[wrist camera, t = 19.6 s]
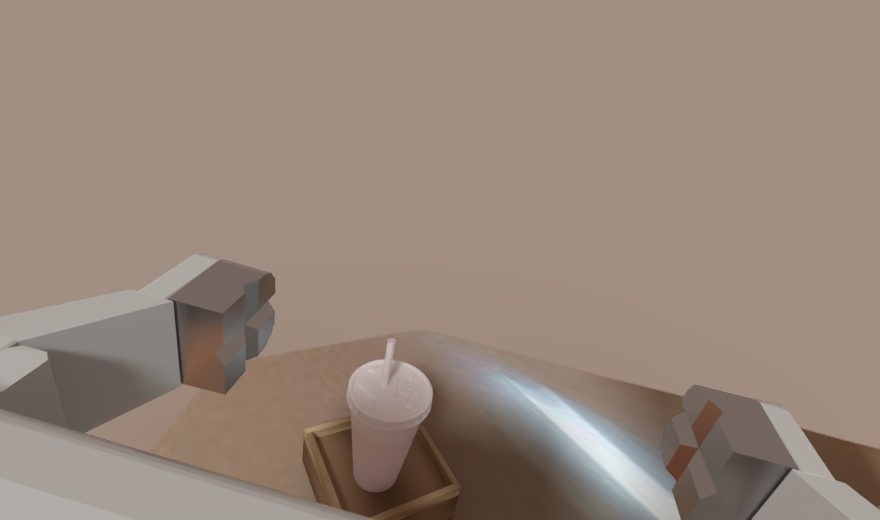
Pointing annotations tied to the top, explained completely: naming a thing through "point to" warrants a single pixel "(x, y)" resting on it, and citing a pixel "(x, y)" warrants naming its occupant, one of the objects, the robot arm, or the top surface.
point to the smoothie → (385, 417)
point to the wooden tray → (396, 509)
